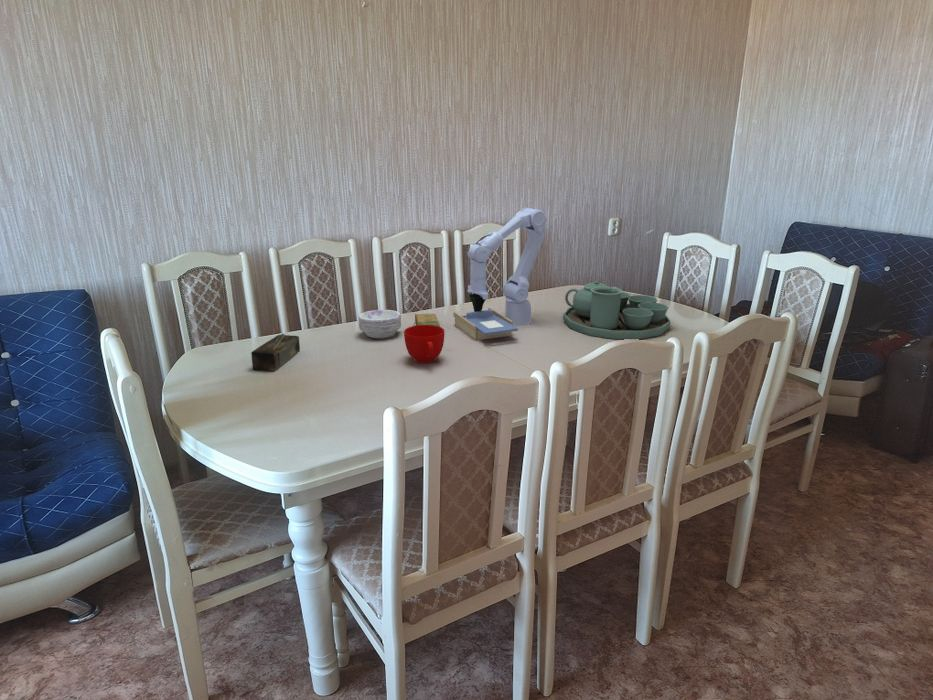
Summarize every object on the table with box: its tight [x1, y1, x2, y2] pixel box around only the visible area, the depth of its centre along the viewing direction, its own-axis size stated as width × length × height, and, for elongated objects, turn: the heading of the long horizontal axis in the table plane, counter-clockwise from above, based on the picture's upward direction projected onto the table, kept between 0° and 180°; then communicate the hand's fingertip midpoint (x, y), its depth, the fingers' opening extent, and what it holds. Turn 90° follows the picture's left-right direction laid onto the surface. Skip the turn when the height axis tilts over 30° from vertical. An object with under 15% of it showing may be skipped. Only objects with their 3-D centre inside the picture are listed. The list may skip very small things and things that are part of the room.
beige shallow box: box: [452, 307, 514, 341], centre depth 222 cm, size 15×20×6 cm
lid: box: [464, 309, 519, 335], centre depth 216 cm, size 13×20×3 cm, turn 23°
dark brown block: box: [250, 333, 301, 372], centre depth 193 cm, size 8×19×7 cm, turn 171°
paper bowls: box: [358, 309, 402, 340], centre depth 218 cm, size 15×15×8 cm
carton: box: [414, 313, 441, 327], centre depth 226 cm, size 8×16×4 cm, turn 9°
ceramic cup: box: [403, 325, 445, 364], centre depth 192 cm, size 13×17×10 cm
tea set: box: [562, 280, 671, 340], centre depth 230 cm, size 40×40×16 cm
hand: (477, 313), depth 225 cm, fingers closed
